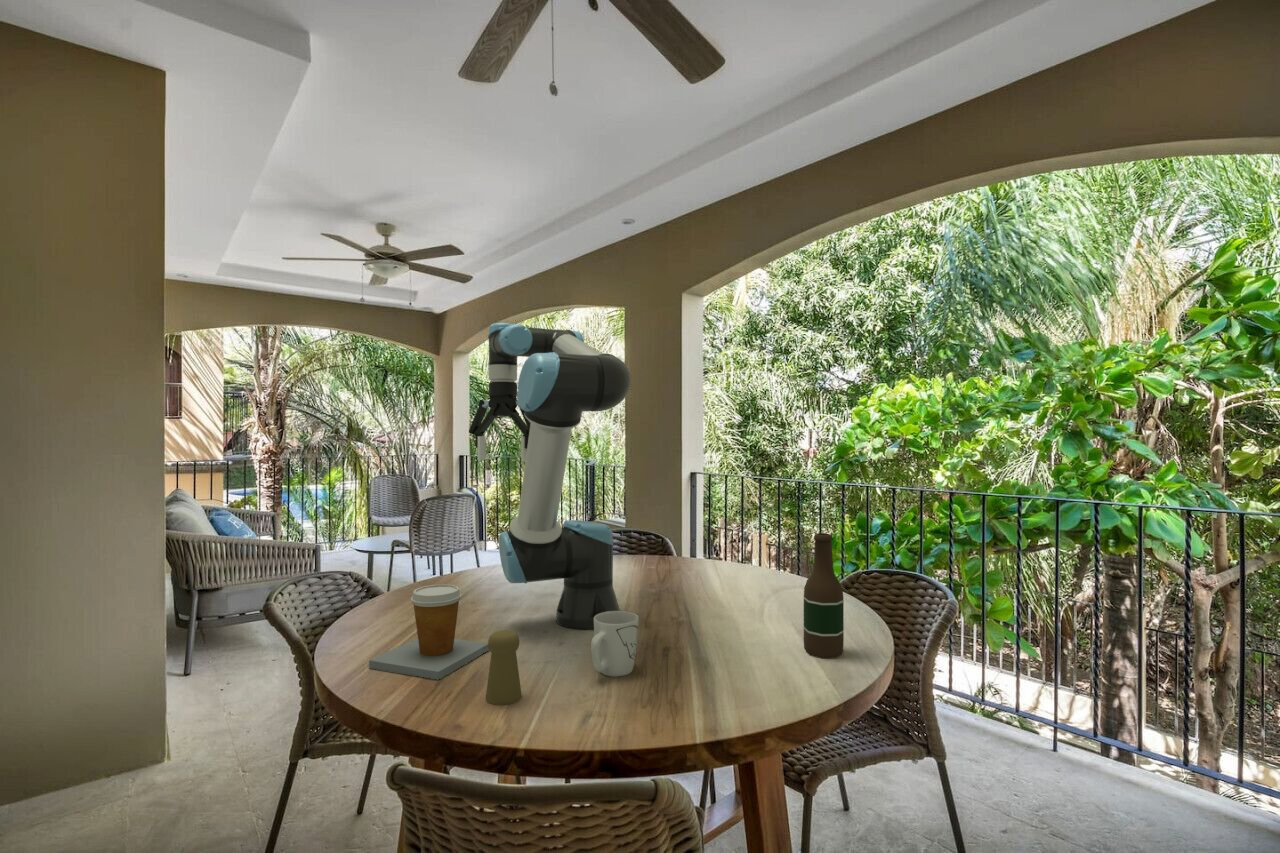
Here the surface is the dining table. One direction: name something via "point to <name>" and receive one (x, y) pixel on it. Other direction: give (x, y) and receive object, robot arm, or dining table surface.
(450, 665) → the slate board
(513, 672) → the olive pawn
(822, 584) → the beer bottle
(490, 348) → the robot arm
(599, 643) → the mug
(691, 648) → the dining table surface
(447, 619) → the disposable coffee cup
